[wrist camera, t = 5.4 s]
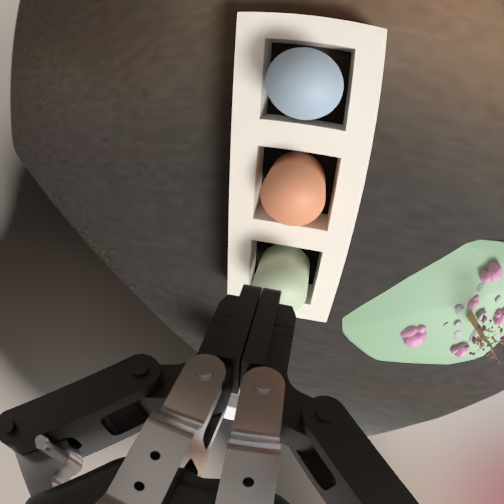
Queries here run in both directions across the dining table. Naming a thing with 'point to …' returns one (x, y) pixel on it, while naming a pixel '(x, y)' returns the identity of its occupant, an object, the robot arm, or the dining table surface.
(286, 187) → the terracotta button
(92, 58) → the dining table surface
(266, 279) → the pale green rounded dome
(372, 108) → the button board
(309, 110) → the light blue rounded dome
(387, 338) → the plant
